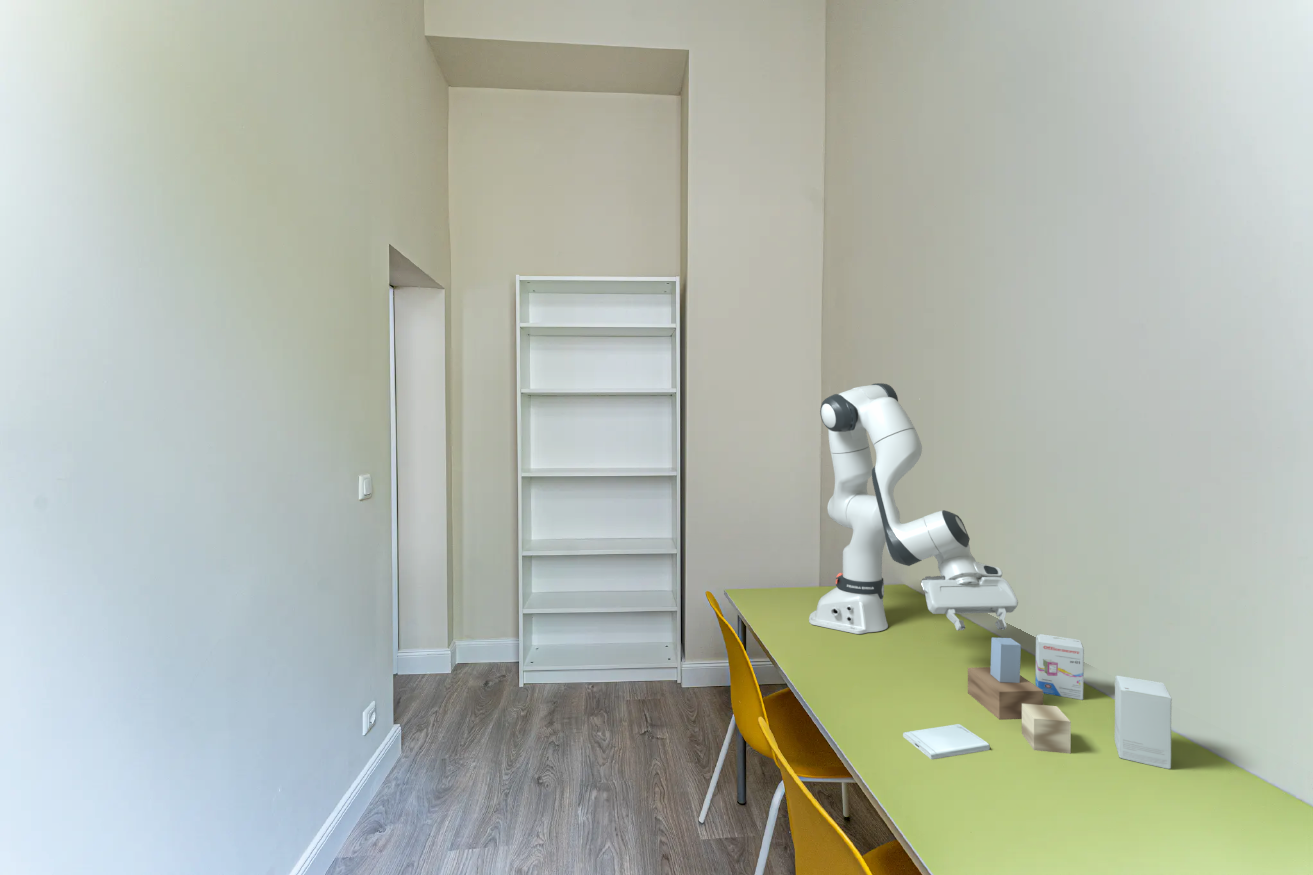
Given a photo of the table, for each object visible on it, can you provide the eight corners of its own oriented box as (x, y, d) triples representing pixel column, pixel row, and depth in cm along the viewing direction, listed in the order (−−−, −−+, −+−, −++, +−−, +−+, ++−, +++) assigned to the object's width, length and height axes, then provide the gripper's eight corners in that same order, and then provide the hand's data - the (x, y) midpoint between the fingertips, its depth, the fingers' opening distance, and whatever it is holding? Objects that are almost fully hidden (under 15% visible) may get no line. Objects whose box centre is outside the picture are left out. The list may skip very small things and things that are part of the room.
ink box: (1037, 693, 134) (1037, 640, 134) (1035, 684, 139) (1035, 633, 139) (1084, 700, 130) (1084, 646, 130) (1080, 691, 135) (1080, 638, 135)
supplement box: (1172, 770, 105) (1172, 698, 104) (1118, 758, 108) (1118, 688, 108) (1164, 750, 111) (1165, 682, 110) (1113, 739, 115) (1114, 673, 114)
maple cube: (1033, 750, 112) (1034, 718, 111) (1021, 734, 117) (1021, 703, 117) (1070, 753, 110) (1070, 721, 110) (1056, 737, 116) (1056, 706, 116)
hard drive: (958, 722, 120) (902, 730, 117) (990, 744, 112) (931, 753, 109) (958, 731, 120) (902, 739, 117) (990, 752, 112) (931, 762, 109)
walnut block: (999, 720, 123) (999, 691, 123) (967, 694, 135) (967, 667, 135) (1043, 719, 123) (1043, 690, 123) (1007, 693, 135) (1007, 666, 135)
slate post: (990, 674, 131) (991, 637, 131) (1009, 674, 131) (1010, 638, 131) (999, 682, 127) (1001, 644, 127) (1019, 682, 127) (1020, 644, 127)
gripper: (922, 570, 148) (940, 623, 138) (1007, 568, 147) (1031, 621, 138) (915, 583, 152) (932, 635, 143) (997, 581, 152) (1020, 634, 142)
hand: (981, 628), depth 140 cm, fingers open, 8 cm apart
